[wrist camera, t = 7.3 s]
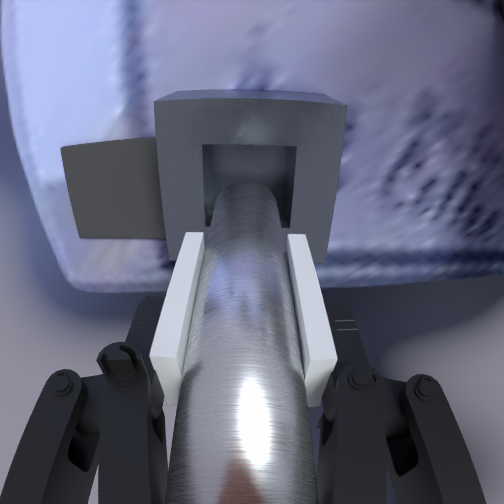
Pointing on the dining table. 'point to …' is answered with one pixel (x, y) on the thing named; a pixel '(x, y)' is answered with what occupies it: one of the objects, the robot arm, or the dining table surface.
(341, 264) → the dining table surface
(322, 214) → the block
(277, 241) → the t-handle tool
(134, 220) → the rubber mat
